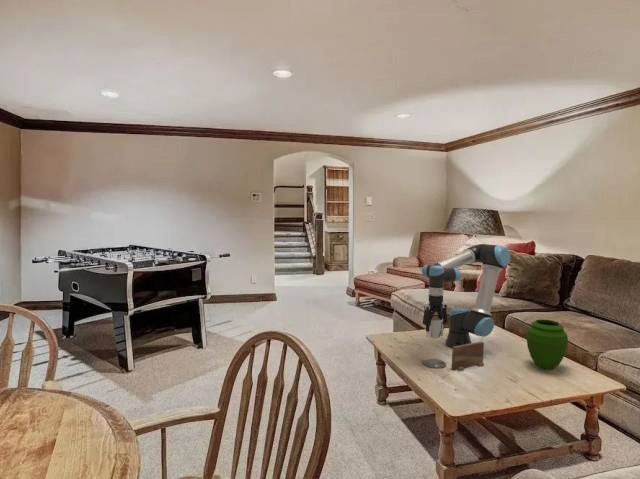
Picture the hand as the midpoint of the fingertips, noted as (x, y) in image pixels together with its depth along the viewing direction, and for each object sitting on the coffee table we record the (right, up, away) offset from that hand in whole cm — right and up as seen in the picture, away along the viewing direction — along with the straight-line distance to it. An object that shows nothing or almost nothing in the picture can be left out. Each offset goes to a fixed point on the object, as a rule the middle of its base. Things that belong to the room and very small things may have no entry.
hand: (434, 336), depth 219 cm
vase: (+58, -16, -3) cm, 61 cm away
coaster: (0, -16, +1) cm, 16 cm away
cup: (0, 0, 0) cm, 0 cm away
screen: (+17, -16, -2) cm, 23 cm away
